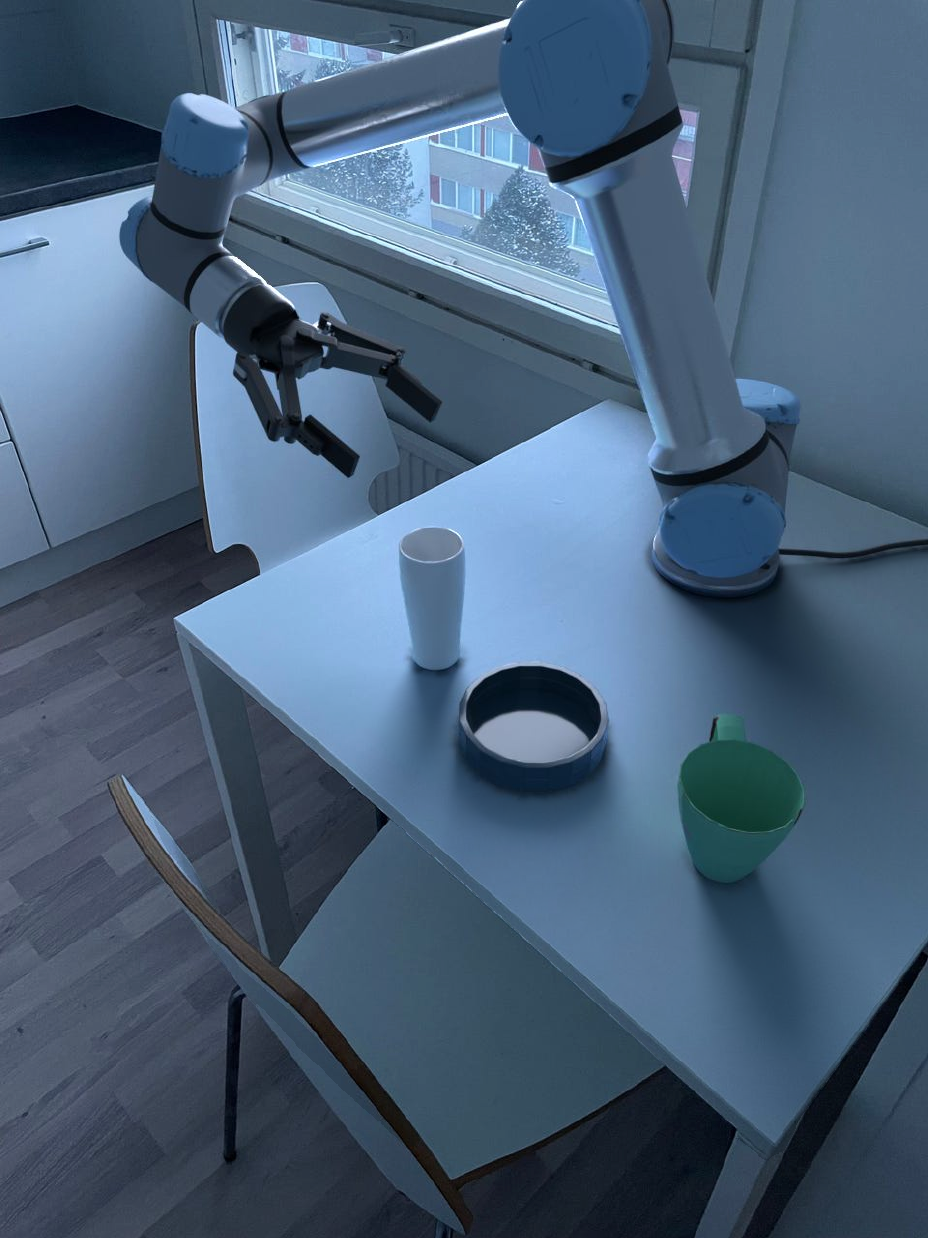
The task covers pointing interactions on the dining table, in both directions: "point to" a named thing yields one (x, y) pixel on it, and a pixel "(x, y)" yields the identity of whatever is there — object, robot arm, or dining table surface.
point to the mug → (735, 801)
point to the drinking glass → (433, 594)
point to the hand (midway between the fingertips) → (397, 438)
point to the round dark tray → (533, 727)
